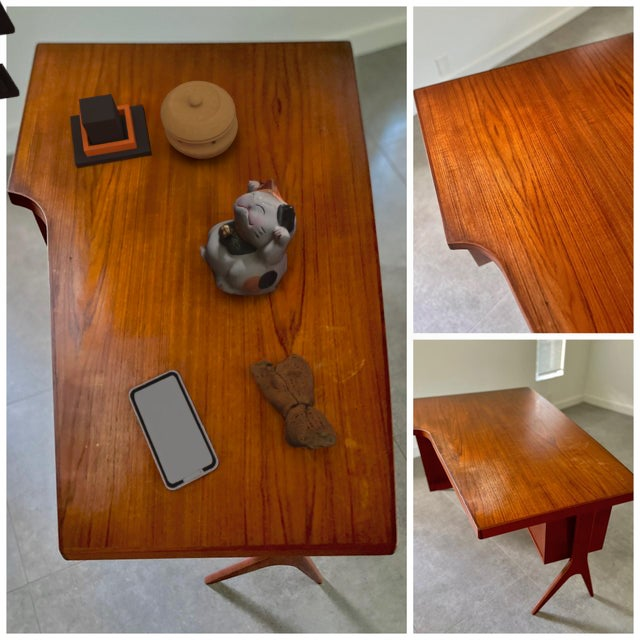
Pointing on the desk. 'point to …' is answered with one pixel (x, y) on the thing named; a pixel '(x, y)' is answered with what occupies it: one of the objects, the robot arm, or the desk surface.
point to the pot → (199, 119)
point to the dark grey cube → (101, 119)
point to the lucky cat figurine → (252, 242)
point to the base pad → (113, 151)
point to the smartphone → (173, 430)
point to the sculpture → (294, 401)
